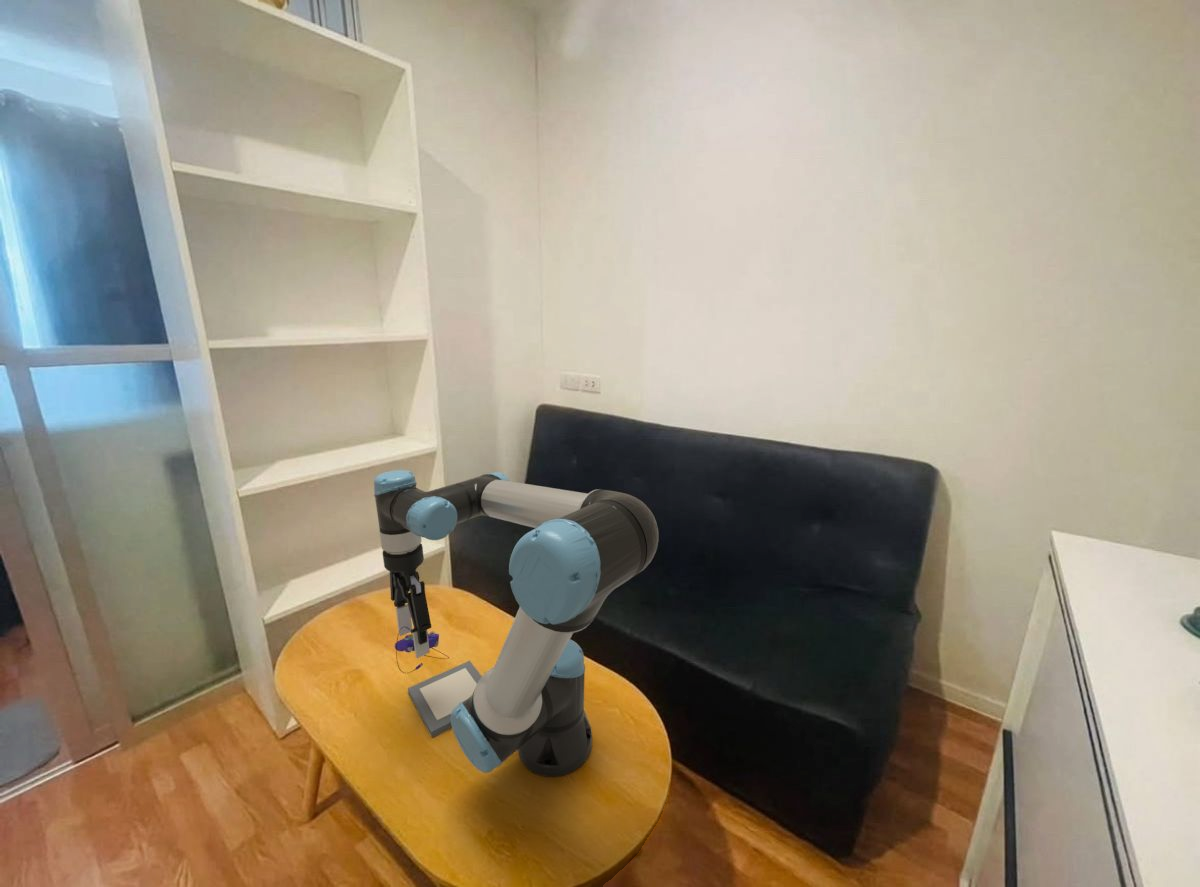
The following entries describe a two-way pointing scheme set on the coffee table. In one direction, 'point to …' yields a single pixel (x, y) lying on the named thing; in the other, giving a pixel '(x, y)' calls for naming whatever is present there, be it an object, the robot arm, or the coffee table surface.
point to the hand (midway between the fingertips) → (413, 643)
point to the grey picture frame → (443, 696)
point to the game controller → (408, 644)
